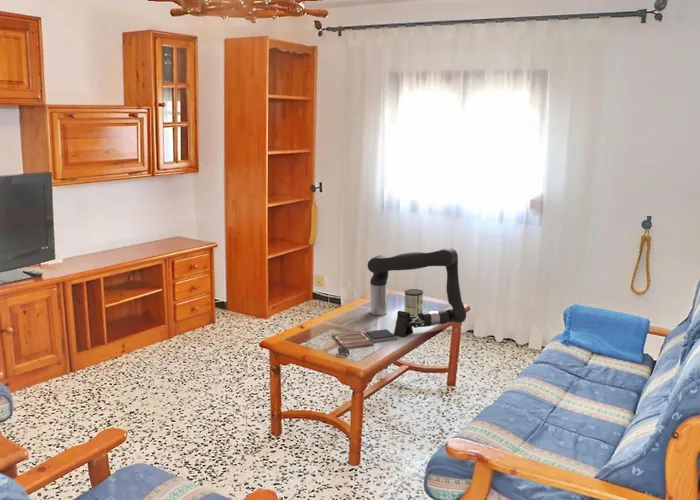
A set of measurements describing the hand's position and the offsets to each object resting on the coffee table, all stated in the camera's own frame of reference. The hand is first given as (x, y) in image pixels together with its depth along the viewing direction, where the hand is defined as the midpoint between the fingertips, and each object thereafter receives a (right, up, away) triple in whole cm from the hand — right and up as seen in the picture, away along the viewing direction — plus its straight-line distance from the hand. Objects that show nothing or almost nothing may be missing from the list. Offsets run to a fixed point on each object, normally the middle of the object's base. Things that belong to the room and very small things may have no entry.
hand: (400, 322), depth 312 cm
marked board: (-25, -8, -7) cm, 27 cm away
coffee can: (+10, 0, +33) cm, 34 cm away
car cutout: (-25, -13, -27) cm, 39 cm away
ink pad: (-11, -7, -2) cm, 13 cm away
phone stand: (+2, -7, +2) cm, 7 cm away
